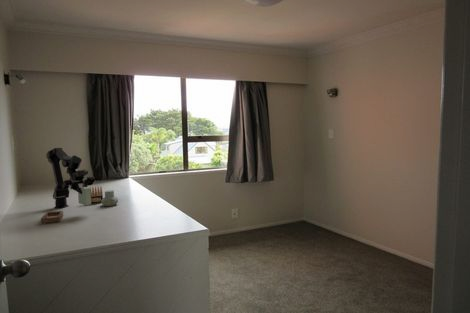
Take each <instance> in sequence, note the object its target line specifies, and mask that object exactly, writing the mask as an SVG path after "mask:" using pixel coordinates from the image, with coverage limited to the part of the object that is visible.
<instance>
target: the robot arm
mask: <svg viewBox="0 0 470 313" xmlns="http://www.w3.org/2000/svg"><path fill="white" fill-rule="evenodd" d="M45 156H46V157H45V158H46V159H47V161H48V162H49V163H50V164H51V167H52V172H53V177H54V181H55V186H54V190H53V193H52V199H53V200H54V202H55V204H54V205H55V206H54V207H53V208H54V209H55V208H57V209H63V208H66V207H67V208H68V207H69V205H68V203H67V198H69V197H70V190H73V191H75V192H77V193H78V192H79V193H80V194H82V191H81V189H80V187H88V186H92V185H93V184H95V180H96V178H95V176H87V175H89V171H88V169H86V168H85V169H80V170H78V169H79V168H80V166H81V163H82V158H80V157H79V156H77V155H72V156H69V155H68V154H67V152H65V151H64V150H63V148H62V147H54V148H53V149H50V150H48V151H47V152H46V154H45ZM60 162H61V165H60ZM61 166H62V167H63V168H66V174H68V175H69V179H65V180H64V178H63V175H62V174H63V173H62V168H61ZM85 176H87V177H86V179H85ZM80 185H81V186H80ZM69 188H70V190H69Z"/></svg>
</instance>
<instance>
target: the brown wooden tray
mask: <svg viewBox="0 0 470 313" xmlns="http://www.w3.org/2000/svg"><path fill="white" fill-rule="evenodd" d="M63 217H64V211H63V210H57V211H50V212H49V211H48V212H47V211H46V212H45V213H44V215H43V216H42V217H41V218H40V225H45V224H47V225H48V224H56V223H58V224H59V223H60V222H61V221H62V219H63Z"/></svg>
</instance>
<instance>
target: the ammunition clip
mask: <svg viewBox="0 0 470 313" xmlns="http://www.w3.org/2000/svg"><path fill="white" fill-rule="evenodd" d="M89 188H90V192H91V204H90V205H93V204H95V203H96V204H102V203H101V200H102V199H103V198H104V194H103V187H102V186H100V187H99V186H95V187H94V186H92V187H91V186H89Z"/></svg>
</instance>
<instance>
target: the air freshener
mask: <svg viewBox="0 0 470 313" xmlns="http://www.w3.org/2000/svg"><path fill="white" fill-rule="evenodd" d="M118 203H119V199H118V197H116V196H115V191H114V190H111V189H109V190H105V191H104V196H103V199H102V200H101V203H100V204H101V205H103V206H105V207H112V206H115V205H117V204H118Z"/></svg>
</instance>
